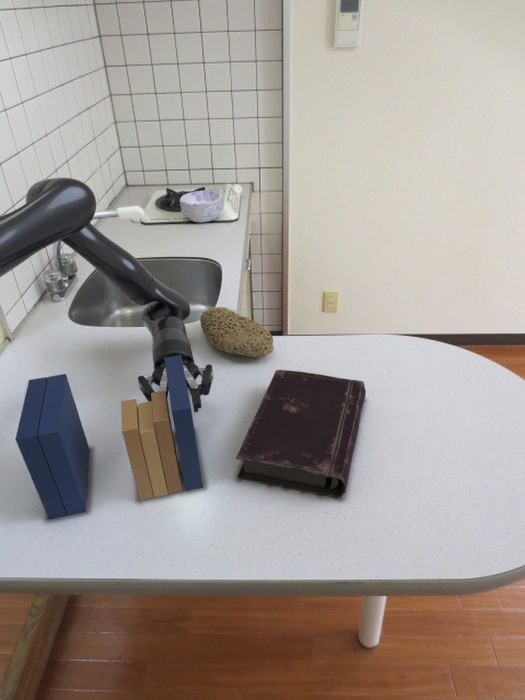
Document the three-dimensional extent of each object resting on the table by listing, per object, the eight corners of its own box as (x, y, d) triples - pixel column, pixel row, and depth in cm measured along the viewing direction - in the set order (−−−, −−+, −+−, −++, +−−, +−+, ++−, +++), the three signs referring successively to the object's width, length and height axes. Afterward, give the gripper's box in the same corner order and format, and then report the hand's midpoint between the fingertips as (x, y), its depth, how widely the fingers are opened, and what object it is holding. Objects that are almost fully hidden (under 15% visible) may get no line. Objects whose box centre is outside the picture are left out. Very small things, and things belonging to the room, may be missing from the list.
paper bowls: (181, 227, 183) (178, 205, 179) (183, 212, 196) (180, 191, 191) (224, 224, 184) (223, 202, 179) (224, 209, 196) (222, 188, 192)
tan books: (139, 500, 84) (121, 428, 75) (138, 469, 89) (120, 398, 81) (182, 491, 85) (168, 419, 76) (178, 461, 91) (165, 390, 82)
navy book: (186, 491, 85) (171, 411, 75) (177, 433, 96) (164, 357, 87) (203, 487, 85) (190, 407, 76) (192, 430, 97) (181, 354, 87)
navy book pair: (48, 519, 81) (15, 439, 72) (56, 456, 93) (28, 379, 83) (86, 511, 82) (58, 431, 73) (89, 450, 94) (66, 373, 84)
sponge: (196, 336, 126) (220, 366, 108) (196, 305, 123) (221, 329, 106) (247, 333, 130) (279, 361, 113) (249, 303, 128) (281, 326, 111)
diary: (365, 400, 102) (367, 380, 99) (345, 500, 82) (347, 478, 79) (272, 387, 106) (271, 367, 104) (232, 478, 87) (230, 456, 84)
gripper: (131, 344, 98) (134, 400, 84) (207, 332, 100) (222, 385, 86) (138, 376, 102) (142, 435, 88) (210, 364, 104) (225, 419, 90)
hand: (181, 410), depth 87 cm, fingers open, 4 cm apart
